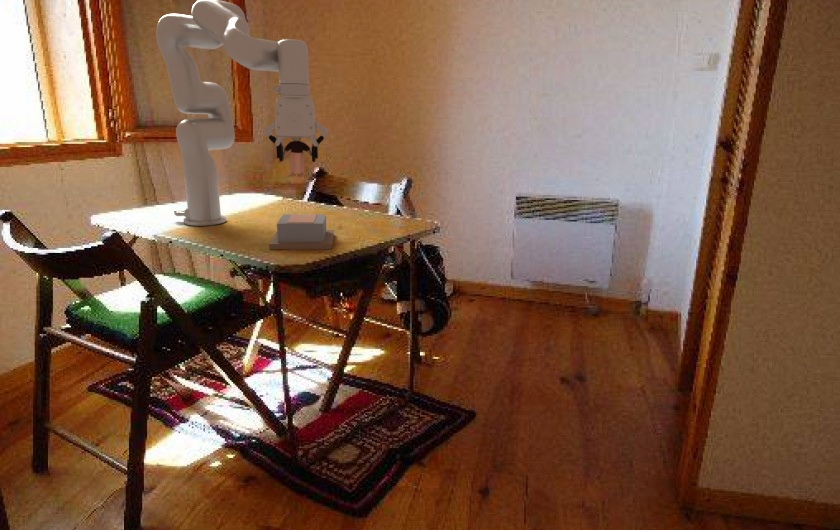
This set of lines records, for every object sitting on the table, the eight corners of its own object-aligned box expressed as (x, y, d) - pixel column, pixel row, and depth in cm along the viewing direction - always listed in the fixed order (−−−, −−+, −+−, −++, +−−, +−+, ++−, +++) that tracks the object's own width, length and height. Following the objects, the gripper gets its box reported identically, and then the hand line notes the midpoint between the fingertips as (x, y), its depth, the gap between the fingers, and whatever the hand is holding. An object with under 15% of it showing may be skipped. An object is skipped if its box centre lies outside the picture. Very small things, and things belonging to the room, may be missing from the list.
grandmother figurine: (284, 177, 142) (281, 127, 138) (283, 175, 145) (280, 126, 141) (313, 176, 144) (312, 127, 140) (312, 175, 147) (310, 127, 144)
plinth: (269, 249, 141) (267, 224, 139) (278, 235, 156) (276, 212, 154) (331, 249, 143) (330, 224, 141) (333, 234, 158) (333, 212, 156)
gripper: (257, 90, 134) (261, 162, 139) (328, 92, 136) (330, 163, 141) (262, 91, 141) (266, 159, 146) (329, 92, 143) (331, 160, 148)
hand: (297, 160), depth 143 cm, fingers closed on grandmother figurine, 7 cm apart
